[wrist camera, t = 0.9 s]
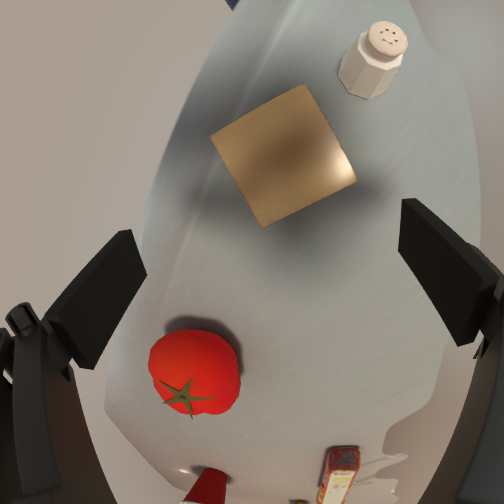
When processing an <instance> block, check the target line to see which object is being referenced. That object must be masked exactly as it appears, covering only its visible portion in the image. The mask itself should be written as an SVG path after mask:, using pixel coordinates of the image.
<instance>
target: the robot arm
mask: <svg viewBox="0 0 504 504" xmlns="http://www.w3.org/2000/svg"><path fill="white" fill-rule="evenodd" d="M398 252H399V253H400V255H401V256H402V257H403V259H404V260H405V262H406V263H407V265H408V266H409V268H410V269H411V270H412V272H413V273H414V275H415V276H416V278H417V279H418V281H419V283H420V284H421V286H422V287H423V289H424V290H425V292H426V293H427V295H428V297H429V298H430V300H431V301H432V303H433V305H434V306H435V308H436V310H437V311H438V313H439V315H440V316H441V318H442V320H443V321H444V323H445V325H446V327H447V328H448V330H449V332H450V334H451V336H452V337H453V339H454V341H455V343H456V345H457V346H458V347H459V346H462V345H466V344H469V343H472V342H474V340H475V338H476V336H477V334H478V331H479V329H480V330H481V332H482V334H483V335H484V338H483V340H482V342H481V344H480V346H479V348H478V350H477V352H476V354H475V356H474V357H473V359H476V357H477V356H478V358H477V362H476V366H475V370H474V374H473V377H472V381H471V384H470V388H469V391H468V394H467V397H466V400H465V403H464V407H463V409H462V412H461V415H460V418H459V420H458V423H457V425H456V428H455V430H454V433H453V435H452V438H451V440H450V442H449V445H448V447H447V449H446V452H445V454H444V456H443V458H442V460H441V462H440V464H439V466H438V468H437V470H436V472H435V474H434V476H433V478H432V480H431V481H430V483H429V485H428V487H427V489H426V490H425V492H424V494H423V495H422V497H421V499H420V500H419V502H418V504H504V275H503V273H501V271H500V270H499V269H498V268H497V267H496V266H495V265H494V264H493V263H491V262H490V260H489V259H488V258H487V257H485V255H484V254H483V253H482V252H481V251H480V250H479V249H478V248H477V247H475V246H473V245H471V244H470V243H466V242H465V241H464V240H463V239H462V238H461V237H460V236H459V235H458V234H457V233H456V232H455V231H453V230H452V229H451V228H450V227H449V226H448V225H447V224H446V223H445V222H443V221H442V220H441V219H440V218H439V217H438V216H436V215H435V214H434V213H433V212H432V211H431V210H429V209H428V208H427V207H426V206H425V205H423V204H422V203H421V202H420V201H418V200H417V199H416V198H411V199H402V206H401V222H400V234H399V245H398ZM146 277H147V273H146V270H145V268H144V265H143V262H142V259H141V257H140V254H139V251H138V248H137V245H136V242H135V239H134V236H133V233H132V230H131V229H129V230H122V231H118V233H116V234H115V235H114V237H113V238H112V239H111V240H110V241H109V242H108V243H107V244H106V245H105V246H104V247H103V248H102V249H101V250H100V251H99V252H98V253H97V254H96V255H95V256H94V258H92V260H91V261H90V262H89V263H88V264H87V265H86V266H85V267H84V268H83V269H82V270H81V272H80V273H79V274H78V275H77V276H76V277H75V278H74V279H73V281H72V282H71V283H70V284H69V285H68V286H67V288H66V289H65V290H64V291H63V292H62V294H61V295H60V296H59V297H58V298H57V299H56V301H55V302H54V303H53V304H52V306H51V307H50V308H49V309H48V311H47V312H46V313H45V316H44V317H43V318H42V320H41V321H40V320H39V319H38V317H37V315H36V314H35V312H34V311H33V309H32V307H31V305H30V303H28V302H24V303H21V304H19V305H17V306H15V307H14V308H13V309H12V310H11V311H10V312H9V313H8V314H7V316H6V318H5V320H6V322H7V323H8V325H9V326H10V328H11V329H12V331H13V332H14V334H15V335H16V336H13V337H11V335H10V334H9V332H8V331H7V329H6V328H0V504H117V502H116V500H115V498H114V496H113V493H112V492H111V489H110V487H109V485H108V482H107V480H106V477H105V475H104V473H103V470H102V468H101V465H100V462H99V460H98V457H97V454H96V452H95V449H94V446H93V443H92V440H91V437H90V434H89V431H88V428H87V424H86V421H85V417H84V414H83V410H82V406H81V402H80V399H79V394H78V390H77V386H76V382H75V377H74V372H73V369H72V367H71V366H70V364H69V362H70V360H71V359H72V358H73V359H74V361H75V362H76V363H77V365H78V366H79V367H80V368H84V369H91V370H94V368H95V366H96V364H97V362H98V360H99V358H100V356H101V354H102V353H103V350H104V349H105V347H106V345H107V343H108V341H109V339H110V338H111V336H112V334H113V332H114V331H115V329H116V327H117V325H118V324H119V322H120V320H121V318H122V317H123V315H124V313H125V311H126V310H127V308H128V306H129V305H130V303H131V301H132V300H133V298H134V296H135V295H136V293H137V291H138V290H139V288H140V286H141V285H142V283H143V281H144V280H145V278H146ZM4 370H5V371H6V372H7V373H8V374H9V376H10V377H11V378H12V379H13V382H12V384H10V383H9V382H8V381H7V379H6V378H5V377H4V376H3V371H4Z"/></svg>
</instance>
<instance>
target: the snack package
mask: <svg viewBox="0 0 504 504" xmlns="http://www.w3.org/2000/svg"><path fill="white" fill-rule="evenodd" d="M359 468H360V451H359V450H358V449H357V448H355V447H340V448H334V449H332V450H331V451H330V452H329V453H328V455H327V459H326V465H325V470H324V474H323V477H322V481H321V485H320V489H319V491H318V494H317V499H316V501H317V504H343V503H344V502H345V499H346V496H347V494H348V492H349V490H350V488H351V486H352V484H353V481H354V478H355V476H356V474H357V472H358V470H359Z"/></svg>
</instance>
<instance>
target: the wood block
mask: <svg viewBox="0 0 504 504" xmlns="http://www.w3.org/2000/svg"><path fill="white" fill-rule="evenodd" d="M210 139H211V140H212V142H213V144H214V146H215V147H216V149H217V151H218V152H219V154H220V156H221V158H222V159H223V161H224V163H225V164H226V166H227V168H228V170H229V171H230V173H231V175H232V177H233V178H234V180H235V182H236V184H237V185H238V187H239V189H240V191H241V192H242V194H243V196H244V198H245V199H246V201H247V203H248V205H249V207H250V208H251V210H252V212H253V214H254V215H255V217H256V219H257V221H258V223H259V224H260V226H261V228H264V227H266V226H268V225H270V224H272V223H274V222H276V221H278V220H280V219H282V218H284V217H286V216H288V215H290V214H292V213H294V212H296V211H298V210H300V209H302V208H304V207H306V206H308V205H311V204H313V203H315V202H317V201H319V200H321V199H323V198H325V197H327V196H329V195H331V194H333V193H335V192H337V191H339V190H341V189H343V188H345V187H347V186H350V185H352V184H354V183H356V182H358V178H357V176H356V174H355V172H354V170H353V168H352V166H351V164H350V162H349V160H348V158H347V156H346V154H345V152H344V151H343V149H342V147H341V145H340V143H339V141H338V139H337V138H336V136H335V134H334V132H333V130H332V129H331V127H330V125H329V123H328V122H327V120H326V118H325V116H324V115H323V113H322V111H321V110H320V108H319V106H318V105H317V103H316V101H315V100H314V98H313V96H312V95H311V93H310V92H309V90H308V89H307V87H306V85H305V84H304V83H303V84H301V85H299V86H297V87H295V88H293V89H291V90H289V91H287V92H285V93H283V94H281V95H279V96H277V97H276V98H274V99H272V100H270V101H268V102H266V103H265V104H263V105H261V106H259V107H257V108H256V109H254V110H252V111H250V112H249V113H247V114H245V115H244V116H242V117H240V118H239V119H237V120H235V121H234V122H232V123H230V124H229V125H227V126H225V127H224V128H222V129H221V130H219V131H218V132H216V133H214V134H213V135H211V136H210Z"/></svg>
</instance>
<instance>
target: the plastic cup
mask: <svg viewBox="0 0 504 504" xmlns="http://www.w3.org/2000/svg"><path fill="white" fill-rule="evenodd" d="M226 482H227V475H226V474H225V473H223V472H221V471H219V470H216V469H210V468H208V469H205V470H204V471H203V472H202V474H201V476H200V477H199V478H198V479H197V481H196V483H195V484H194V486H193V487H192V489H191V490H190V492H189V493H188V494H187V496H186V497H185V498H184V500H183V501H181V502H180V504H224V503H225V494H226Z"/></svg>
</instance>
